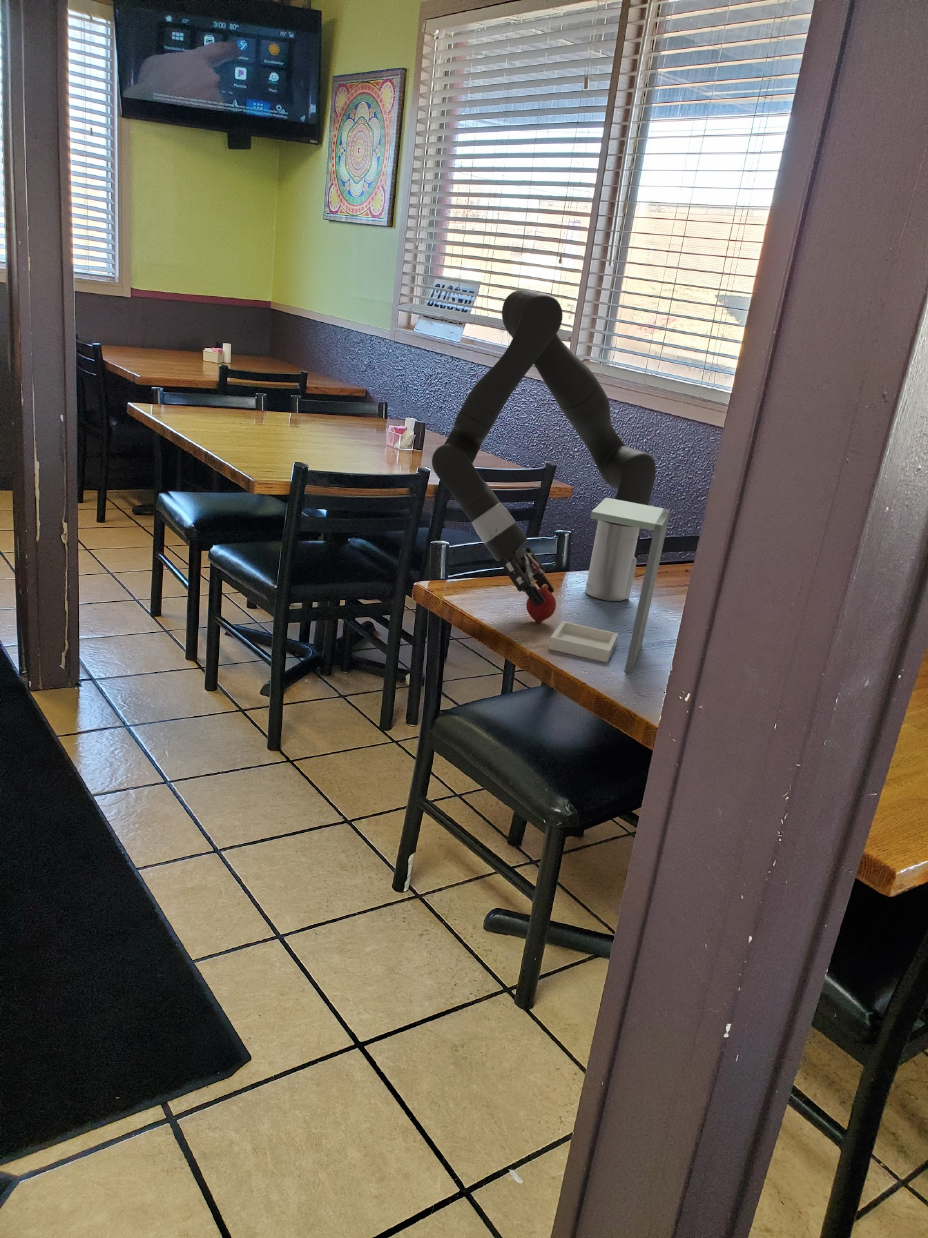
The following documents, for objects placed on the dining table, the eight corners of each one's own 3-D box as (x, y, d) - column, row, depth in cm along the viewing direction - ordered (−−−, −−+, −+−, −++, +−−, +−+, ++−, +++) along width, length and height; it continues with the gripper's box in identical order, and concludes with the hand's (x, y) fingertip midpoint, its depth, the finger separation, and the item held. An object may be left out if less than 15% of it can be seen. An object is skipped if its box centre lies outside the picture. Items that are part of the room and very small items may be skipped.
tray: (548, 648, 172) (550, 637, 171) (560, 631, 182) (562, 620, 181) (607, 662, 169) (609, 650, 168) (616, 644, 179) (618, 633, 178)
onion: (544, 629, 182) (550, 591, 179) (518, 621, 184) (524, 583, 182) (557, 623, 186) (564, 585, 184) (532, 615, 189) (538, 578, 187)
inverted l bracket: (564, 657, 169) (591, 511, 160) (580, 632, 183) (605, 497, 175) (631, 672, 166) (662, 525, 157) (641, 646, 180) (670, 509, 172)
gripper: (504, 527, 175) (553, 598, 175) (522, 514, 188) (568, 580, 189) (474, 549, 178) (522, 618, 178) (493, 535, 191) (538, 599, 192)
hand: (545, 599), depth 184 cm, fingers open, 8 cm apart
